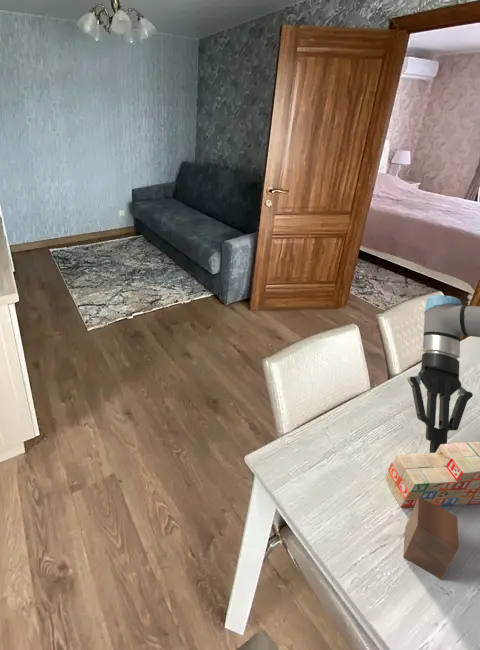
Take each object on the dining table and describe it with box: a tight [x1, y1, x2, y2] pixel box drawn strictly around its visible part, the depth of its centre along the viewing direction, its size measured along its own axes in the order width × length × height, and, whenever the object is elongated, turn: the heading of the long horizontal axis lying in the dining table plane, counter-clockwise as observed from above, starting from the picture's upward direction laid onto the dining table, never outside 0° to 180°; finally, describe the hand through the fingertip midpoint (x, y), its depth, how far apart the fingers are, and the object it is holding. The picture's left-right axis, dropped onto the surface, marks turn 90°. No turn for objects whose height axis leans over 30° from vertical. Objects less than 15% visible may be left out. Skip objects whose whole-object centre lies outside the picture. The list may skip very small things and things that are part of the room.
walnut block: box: [402, 497, 460, 580], centre depth 65 cm, size 6×6×10 cm
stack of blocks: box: [383, 441, 480, 508], centre depth 74 cm, size 21×6×12 cm, turn 93°
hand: (435, 458), depth 79 cm, fingers closed
